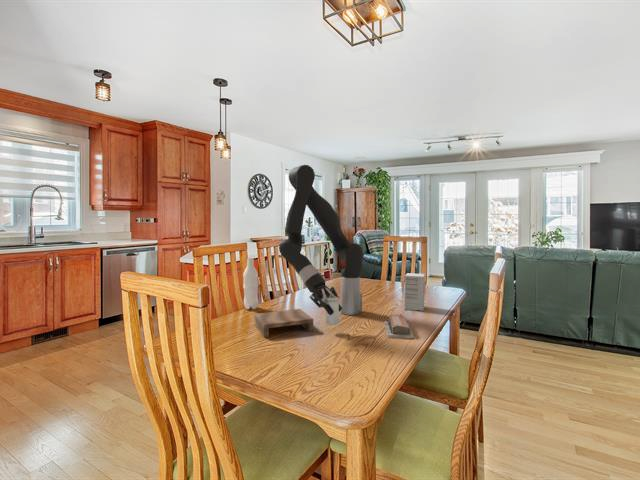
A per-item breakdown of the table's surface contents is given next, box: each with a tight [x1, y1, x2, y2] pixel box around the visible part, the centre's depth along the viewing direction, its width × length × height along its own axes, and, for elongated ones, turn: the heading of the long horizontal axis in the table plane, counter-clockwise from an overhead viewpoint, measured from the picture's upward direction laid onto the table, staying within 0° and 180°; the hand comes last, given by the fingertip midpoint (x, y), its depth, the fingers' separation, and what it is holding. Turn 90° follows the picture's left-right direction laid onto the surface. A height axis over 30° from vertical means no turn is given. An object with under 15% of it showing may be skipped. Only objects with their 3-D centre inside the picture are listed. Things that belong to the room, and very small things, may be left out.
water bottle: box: [242, 257, 259, 310], centre depth 174 cm, size 7×7×25 cm
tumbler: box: [325, 296, 340, 326], centre depth 138 cm, size 5×5×10 cm
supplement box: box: [403, 272, 426, 312], centre depth 174 cm, size 10×9×17 cm
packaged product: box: [383, 314, 415, 339], centre depth 141 cm, size 18×5×10 cm
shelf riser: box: [254, 308, 314, 339], centre depth 144 cm, size 20×16×5 cm
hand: (336, 311), depth 137 cm, fingers closed on tumbler, 5 cm apart
